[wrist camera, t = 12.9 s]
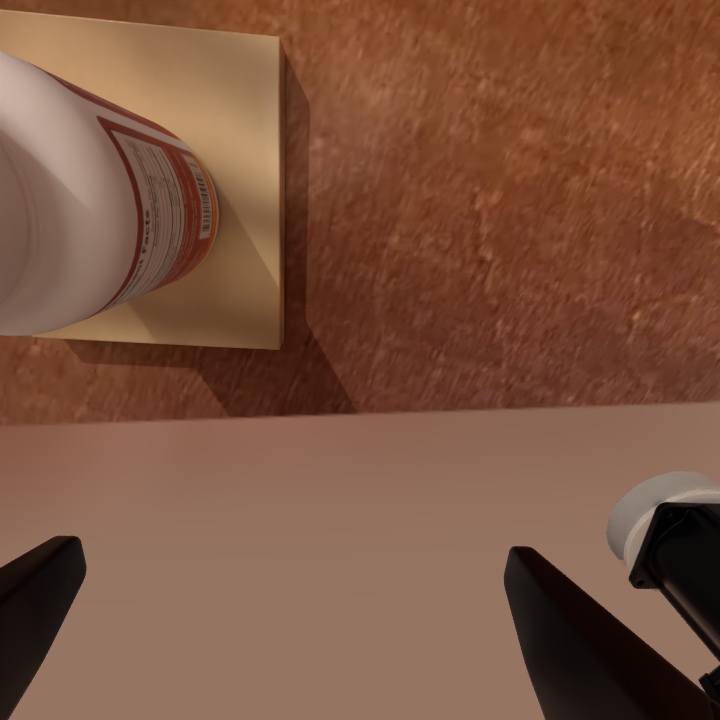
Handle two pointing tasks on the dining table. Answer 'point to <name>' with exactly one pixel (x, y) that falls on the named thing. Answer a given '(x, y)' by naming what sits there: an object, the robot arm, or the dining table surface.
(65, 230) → the pill bottle
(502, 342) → the dining table surface
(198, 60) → the cutting board
